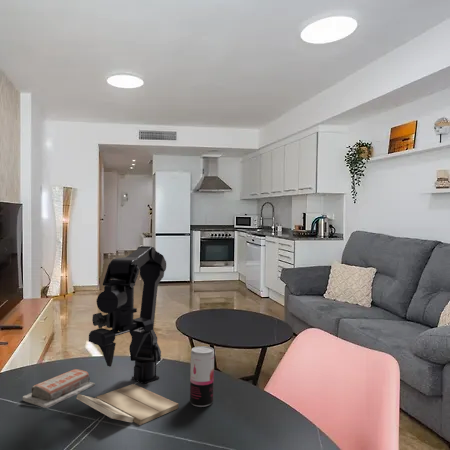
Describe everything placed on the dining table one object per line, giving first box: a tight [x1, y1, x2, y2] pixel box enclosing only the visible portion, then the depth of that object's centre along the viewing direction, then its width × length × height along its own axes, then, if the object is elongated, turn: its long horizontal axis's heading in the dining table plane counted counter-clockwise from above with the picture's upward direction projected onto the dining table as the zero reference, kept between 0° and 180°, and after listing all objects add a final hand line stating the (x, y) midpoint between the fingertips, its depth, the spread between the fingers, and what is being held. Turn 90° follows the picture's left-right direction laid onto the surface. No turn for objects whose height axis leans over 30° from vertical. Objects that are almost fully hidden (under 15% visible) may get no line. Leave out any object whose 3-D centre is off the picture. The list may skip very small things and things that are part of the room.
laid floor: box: [95, 383, 180, 426], centre depth 117 cm, size 13×20×1 cm, turn 49°
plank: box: [76, 393, 134, 423], centre depth 109 cm, size 7×16×1 cm, turn 49°
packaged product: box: [22, 368, 96, 409], centre depth 123 cm, size 18×5×10 cm
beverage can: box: [189, 345, 215, 408], centre depth 119 cm, size 6×6×15 cm
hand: (122, 361), depth 116 cm, fingers open, 9 cm apart
